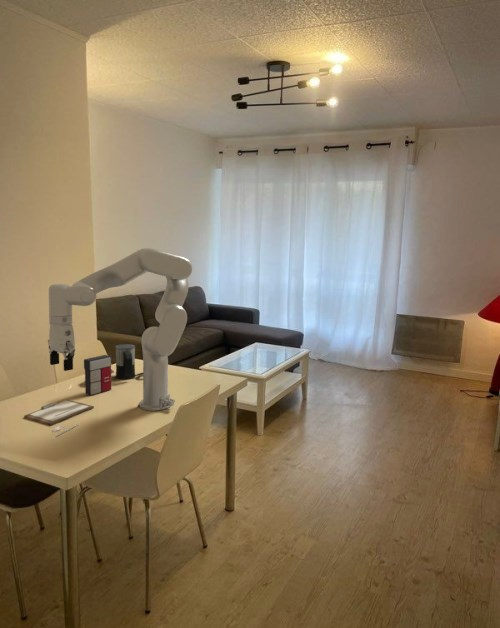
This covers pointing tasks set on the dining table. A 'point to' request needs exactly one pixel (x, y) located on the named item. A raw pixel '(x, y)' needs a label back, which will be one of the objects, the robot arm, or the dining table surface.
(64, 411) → the clipboard
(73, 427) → the picture light
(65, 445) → the dining table surface
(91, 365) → the grey and red box
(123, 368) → the milk frother
